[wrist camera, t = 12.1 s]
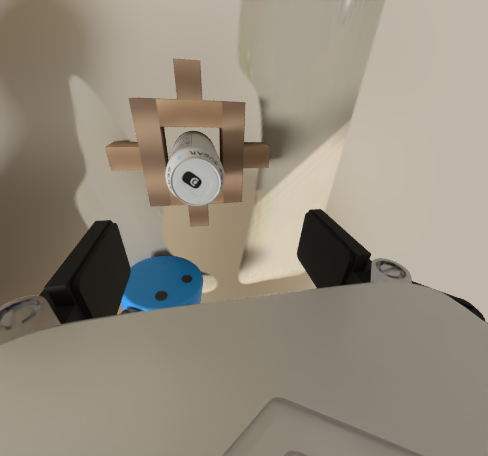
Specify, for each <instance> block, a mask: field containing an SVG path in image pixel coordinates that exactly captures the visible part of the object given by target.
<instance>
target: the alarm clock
mask: <svg viewBox="0 0 488 456" xmlns="http://www.w3.org/2000/svg"><path fill="white" fill-rule="evenodd" d="M130 269H131V274H130V277H129V280H128V283H127V286H126V289H125V292H124V295H123V297H122V300H121V302H122V310H123V311H122V313H121V314H126V313H133V312H140V311H148V310H155V309H163V308H170V307H178V306H185V305H193V304H200V301H201V294H202V286H203V277H202V274H201V272H200V270H199V269H198V267H197V266H196V265H194V264H193V263H192V262H190V261H188V260H186V259H183V258H180V257H175V256H157V257H152V258H148V259H145V260H143V261H140V262H138V263H137V264H135V265H134V266H132V267H131V268H130Z"/></svg>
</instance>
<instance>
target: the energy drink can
mask: <svg viewBox="0 0 488 456" xmlns="http://www.w3.org/2000/svg"><path fill="white" fill-rule="evenodd" d="M165 177H166V182H167V185H168V188H169V189H170V191H171V192H172V193H173V194H174V196H176V197H177V198H178V199H179V200H180V201H182V202H184V203H185V204H188V205H192V206H201V205H205V204H208V203H210V202H211V201H213V200H214V199H215V198H216V197H217V196H218V195H219V193H220V192H221V190H222V188H223V186H224V181H225V173H224V169H223V166H222V164H221V162H220V160H219V157H218V155H217V153H216V151H215V148H214V146H213V144H212V142H211V140H210V139H209V138H208V137H207V136H206V135H205V134H203V133H201V132H197V131H189V132H185V133H183V134H182V135H180V136H179V138H178V139H177V141H176V142H175V145H174V148H173V150H172V153H171V156H170V159H169V161H168V164H167V167H166V173H165Z"/></svg>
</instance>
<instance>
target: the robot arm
mask: <svg viewBox="0 0 488 456" xmlns="http://www.w3.org/2000/svg"><path fill="white" fill-rule="evenodd" d="M370 256H371V253H370V252H368V251H367V250H366V249H365V248H364V247H363V246H362V245H361V244H359V243H358V242H357V241H356V240H355V239H354V238H353V237H351V236H350V235H349V234H348V233H347V232H346V231H345V230H344V229H343V228H342V227H340V226H339V225H338V224H337V223H336V222H335V221H334V220H333V219H331V218H330V217H329V216H328V215H327V214H326V213H325V212H324V211H323V210H321V209H315V210H309V212H308V213H306V214H305V218H304V223H303V228H302V232H301V237H300V241H299V246H298V251H297V257H298V259H299V261H300V262H301V264H302V265H303V267H304V269H305V270H306V272H307V273H308V275H309V276H310V278H311V279H312V281H313V283H314V284H315V286H316V287H317V289H309V290H301V291H293V292H285V293H277V294H270V295H263V296H254V297H246V298H239V299H232V300H223V301H216V302H208V303H200V304H193V305H185V306H178V307H170V308H163V309H155V310H148V311H140V312H133V313H126V314H118V315H117V312H118V309H119V306H120V303H121V300H122V297H123V295H124V292H125V289H126V286H127V283H128V280H129V277H130V274H131V269H130V265H129V262H128V258H127V255H126V252H125V248H124V245H123V242H122V239H121V235H120V232H119V229H118V226H117V224H116V223H113V222H112V221H111V220H105V221H95V222H94V224H93V225H92V226H91V227H90V229H89V230H88V231H87V233H86V234H85V235H84V237H83V238H82V239H81V240H80V242H79V243H78V244H77V246H76V247H75V248H74V249H73V251H72V252H71V253H70V255H69V256H68V257H67V259H66V260H65V261H64V262H63V264H62V265H61V266H60V268H59V269H58V270H57V271H56V273H55V274H54V275H53V277H52V278H51V279H50V280H49V282H48V283H47V284H46V286H45V287H44V288H45V289H44V290H43V291H42V293H41V294H40V295H39V296H38V295H35V296H26V297H22V298H19V299H16V300H13V301H11V302H9V303H7V304H5V305H4V306H1V307H0V456H488V323H487V322H485V318H484V317H483V315H482V314H481V313H480V312H479V311H478V310H477V309H476V308H475V307H474V306H473V305H471V304H470V303H469V302H467V301H465V300H463V299H461V298H457V297H454V296H451V295H449V294H446V293H443V292H440V291H438V290H435V289H432V288H429V287H427V286H424V285H421V284H418V283H416V282H413V281H412V280H411V275H410V273H409V272H408V270H407V269H406V268H404V267H403V266H402V265H400V264H398V263H396V262H394V261H391V260H387V259H381V258H379V259H375V260H373V261H371V260H370V259H369V258H370Z"/></svg>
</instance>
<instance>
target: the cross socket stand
mask: <svg viewBox="0 0 488 456" xmlns="http://www.w3.org/2000/svg"><path fill="white" fill-rule="evenodd" d="M173 63H174V73H175V82H176V92H177V100H175V99H151V98H129V102H130V107H131V112H132V116H133V122H134V127H135V131H136V136H137V141H138V142H113V143H111V144H109V145H108V146H106V147H105V150H106V153H107V157H108V160H109V164H110V167H111V171H120V170H143V171H144V176H145V181H146V186H147V191H148V196H149V200H150V205H151V206H169V205H188V204H185V203H184V202H182V201H180V200H179V199H178V198H177V197H176V196H174V194H173V193H172V192H171V191H170V189H169V188H168V185H167V182H166V177H165V173H166V167H167V164H168V161H169V160H168V153H167V146H166V139H165V132H164V127H218V128H220V162H221V164H222V166H223V169H224V173H225V181H224V186H223V188H222V190H221V192H220V193H219V195H218V196H217V197H216V198H215V199H214V200H213V201H211V202H210V203H228V202H229V203H230V202H242V183H243V168H269V157H270V147H269V146H268V145H266V144H265V143H263V142H244V126H245V125H244V123H245V103H244V102H225V101H202V87H201V70H200V61H198V60H185V59H173ZM210 203H208V204H210ZM208 204H205V205H201V206H192V205H188V206H189V216H190V226H191V227H193V226H208V225H209V218H208Z"/></svg>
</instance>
